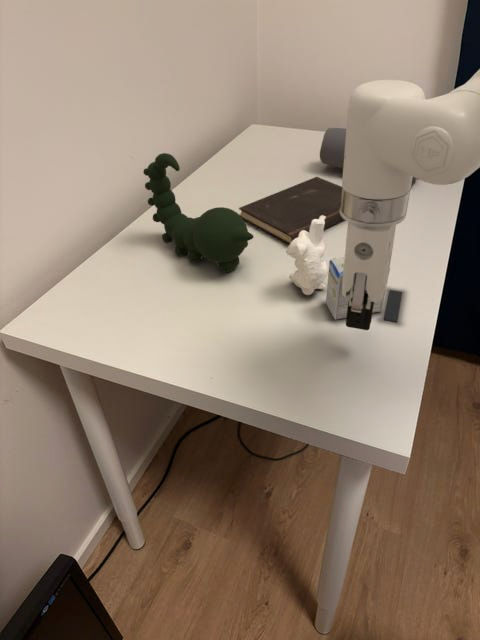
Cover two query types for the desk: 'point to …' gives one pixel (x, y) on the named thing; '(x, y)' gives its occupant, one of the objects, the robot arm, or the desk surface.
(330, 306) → the medicine box
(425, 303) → the desk surface
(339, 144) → the bluetooth speaker
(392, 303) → the strip
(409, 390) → the desk surface
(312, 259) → the white bunny figurine
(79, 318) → the desk surface
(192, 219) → the toy figurine
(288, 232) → the hardcover book
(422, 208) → the desk surface
